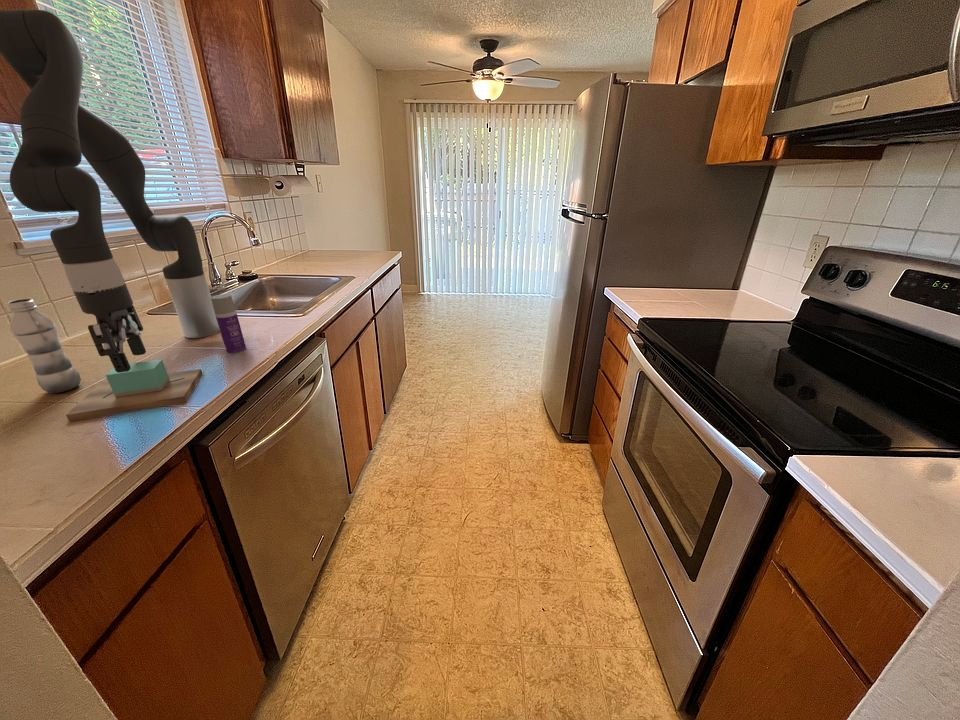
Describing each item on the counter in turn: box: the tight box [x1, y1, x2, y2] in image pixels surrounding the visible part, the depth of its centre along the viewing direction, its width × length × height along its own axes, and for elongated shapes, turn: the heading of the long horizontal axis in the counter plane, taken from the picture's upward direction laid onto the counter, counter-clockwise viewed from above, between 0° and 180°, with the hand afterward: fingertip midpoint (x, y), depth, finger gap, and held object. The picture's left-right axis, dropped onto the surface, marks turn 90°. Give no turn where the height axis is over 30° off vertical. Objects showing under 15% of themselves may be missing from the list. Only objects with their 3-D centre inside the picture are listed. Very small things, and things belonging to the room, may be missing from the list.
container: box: [211, 293, 247, 356], centre depth 103 cm, size 5×5×15 cm
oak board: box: [65, 368, 204, 422], centre depth 84 cm, size 14×19×2 cm
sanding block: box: [105, 358, 170, 397], centre depth 83 cm, size 5×8×5 cm, turn 110°
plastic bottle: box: [7, 298, 82, 394], centre depth 83 cm, size 6×7×20 cm
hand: (132, 362), depth 82 cm, fingers open, 8 cm apart
